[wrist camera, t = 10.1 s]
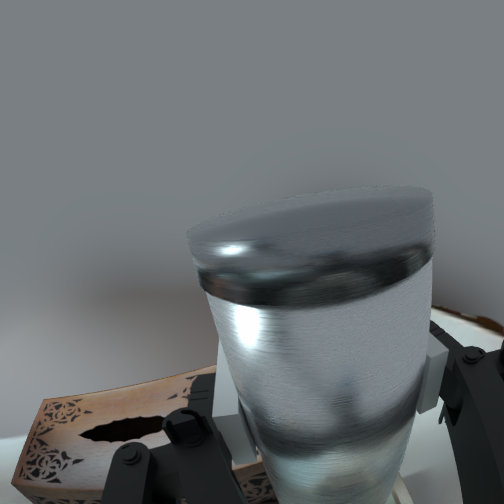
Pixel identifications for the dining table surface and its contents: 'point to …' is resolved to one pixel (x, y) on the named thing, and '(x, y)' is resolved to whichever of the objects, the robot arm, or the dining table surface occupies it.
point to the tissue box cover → (108, 441)
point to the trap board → (399, 493)
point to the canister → (324, 332)
